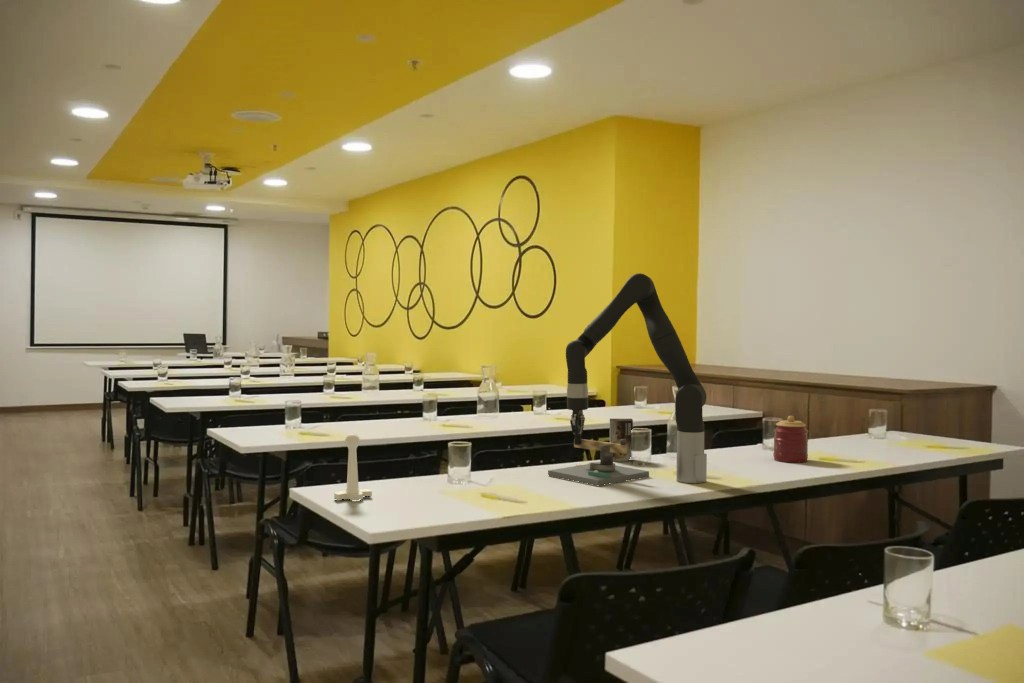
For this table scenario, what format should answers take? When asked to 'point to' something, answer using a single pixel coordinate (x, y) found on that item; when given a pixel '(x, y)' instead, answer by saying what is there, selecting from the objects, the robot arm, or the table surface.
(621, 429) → the coffee box
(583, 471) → the board
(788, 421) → the canister
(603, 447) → the wooden pivot lever
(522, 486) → the table surface
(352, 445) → the joystick
